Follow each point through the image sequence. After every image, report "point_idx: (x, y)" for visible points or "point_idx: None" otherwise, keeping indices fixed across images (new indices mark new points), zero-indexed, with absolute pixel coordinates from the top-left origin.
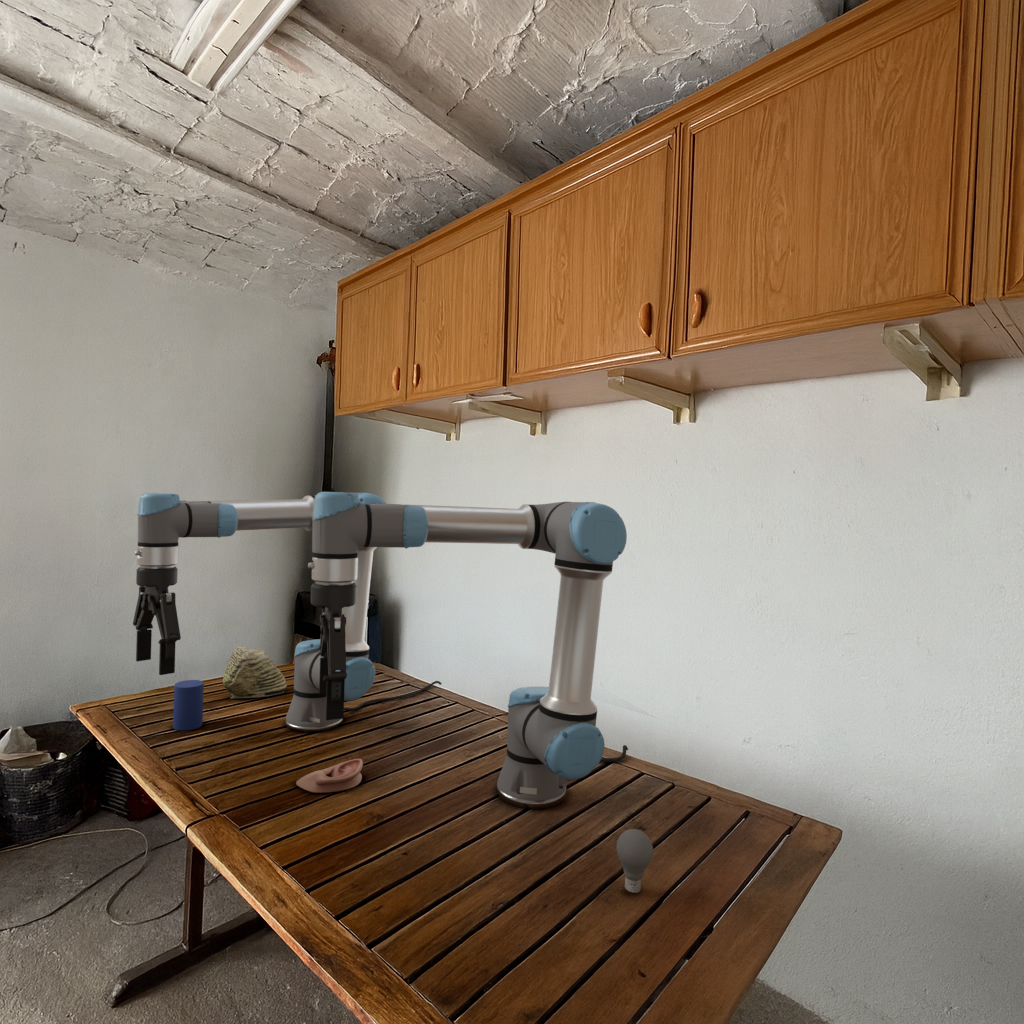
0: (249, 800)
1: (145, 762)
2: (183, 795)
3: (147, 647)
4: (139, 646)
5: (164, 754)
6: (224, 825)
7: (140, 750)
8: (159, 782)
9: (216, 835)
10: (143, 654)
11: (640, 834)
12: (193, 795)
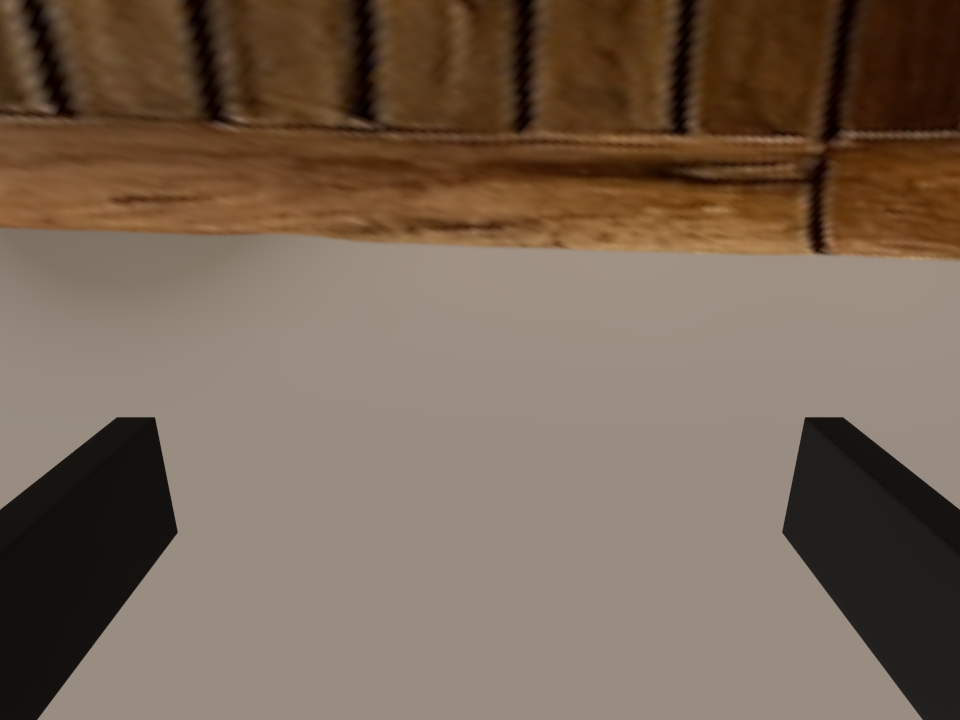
0: (826, 11)
1: (220, 186)
2: (605, 184)
3: (76, 532)
4: (81, 632)
5: (173, 97)
6: (911, 167)
7: (76, 159)
8: (442, 209)
9: (944, 213)
10: (135, 522)
11: None
12: (631, 157)
